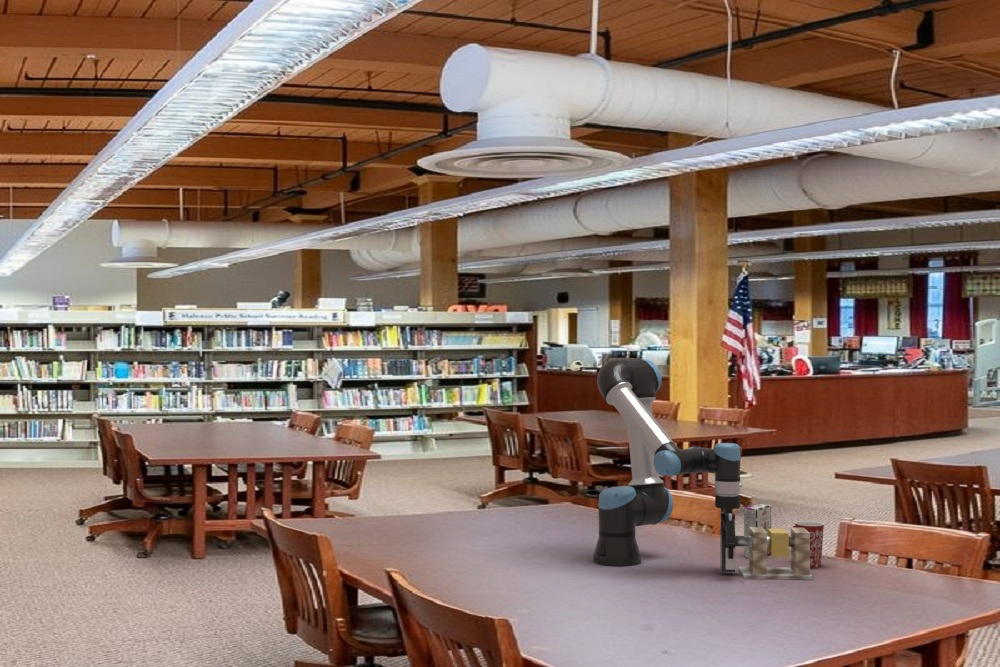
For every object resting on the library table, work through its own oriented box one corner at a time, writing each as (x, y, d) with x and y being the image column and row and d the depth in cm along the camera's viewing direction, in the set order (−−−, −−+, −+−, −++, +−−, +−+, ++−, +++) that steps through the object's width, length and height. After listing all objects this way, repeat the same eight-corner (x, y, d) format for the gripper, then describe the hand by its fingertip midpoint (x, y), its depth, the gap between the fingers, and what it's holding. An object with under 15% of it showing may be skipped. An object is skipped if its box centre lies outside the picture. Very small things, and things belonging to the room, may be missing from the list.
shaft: (721, 572, 357) (721, 535, 358) (720, 569, 361) (720, 533, 361) (802, 573, 356) (802, 536, 356) (800, 570, 360) (800, 534, 360)
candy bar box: (758, 552, 394) (758, 503, 394) (772, 554, 391) (772, 504, 391) (743, 558, 385) (743, 507, 385) (757, 559, 382) (757, 508, 382)
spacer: (771, 557, 354) (771, 533, 354) (767, 552, 362) (767, 528, 362) (788, 557, 354) (788, 533, 354) (784, 552, 362) (784, 529, 362)
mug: (830, 567, 369) (830, 524, 369) (806, 569, 366) (806, 526, 366) (805, 560, 381) (805, 518, 381) (781, 562, 377) (781, 520, 377)
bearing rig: (743, 578, 353) (743, 533, 353) (738, 570, 365) (738, 526, 366) (812, 579, 351) (812, 533, 351) (804, 570, 364) (804, 526, 364)
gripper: (745, 500, 347) (745, 573, 347) (735, 489, 371) (735, 557, 371) (719, 500, 347) (719, 573, 347) (711, 489, 372) (711, 557, 372)
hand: (727, 565), depth 359 cm, fingers open, 13 cm apart
